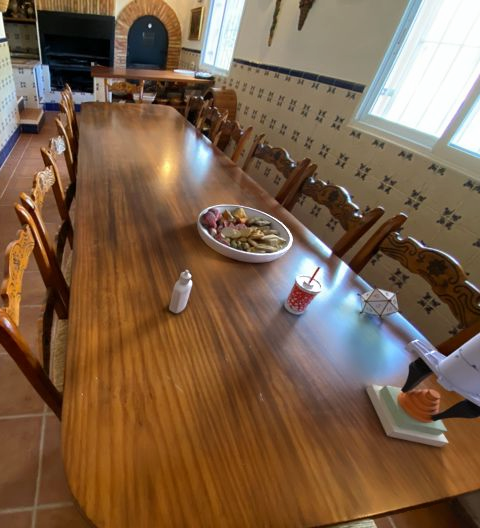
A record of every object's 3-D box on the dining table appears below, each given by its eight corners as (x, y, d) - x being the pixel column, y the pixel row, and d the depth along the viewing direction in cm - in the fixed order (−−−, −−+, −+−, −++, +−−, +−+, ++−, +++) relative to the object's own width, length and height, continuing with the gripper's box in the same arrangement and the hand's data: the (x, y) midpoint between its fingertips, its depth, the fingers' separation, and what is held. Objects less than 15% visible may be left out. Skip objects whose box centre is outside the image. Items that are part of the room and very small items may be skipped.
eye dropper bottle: (191, 309, 74) (202, 274, 67) (172, 315, 72) (181, 279, 65) (183, 297, 77) (192, 262, 70) (164, 302, 75) (171, 267, 68)
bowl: (276, 223, 110) (285, 204, 105) (295, 275, 87) (307, 255, 82) (195, 211, 113) (200, 192, 108) (194, 258, 91) (199, 237, 86)
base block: (440, 447, 53) (449, 443, 52) (387, 436, 54) (394, 431, 53) (412, 398, 60) (419, 393, 59) (365, 389, 61) (371, 384, 59)
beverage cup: (294, 319, 74) (322, 278, 65) (276, 302, 78) (299, 262, 69) (311, 312, 76) (339, 272, 67) (292, 296, 80) (316, 256, 72)
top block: (439, 435, 53) (447, 431, 51) (397, 426, 53) (404, 422, 52) (417, 397, 58) (424, 392, 57) (379, 390, 59) (385, 385, 57)
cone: (441, 426, 52) (463, 413, 49) (407, 419, 52) (427, 406, 49) (422, 395, 56) (442, 382, 53) (391, 389, 57) (408, 375, 54)
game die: (353, 319, 81) (346, 285, 79) (385, 310, 80) (379, 276, 78) (378, 332, 72) (370, 294, 70) (415, 323, 71) (408, 284, 69)
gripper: (416, 330, 49) (368, 373, 57) (531, 417, 38) (451, 454, 47) (443, 320, 51) (392, 364, 59) (558, 401, 41) (477, 439, 49)
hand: (420, 403), depth 53 cm, fingers closed on cone, 5 cm apart
